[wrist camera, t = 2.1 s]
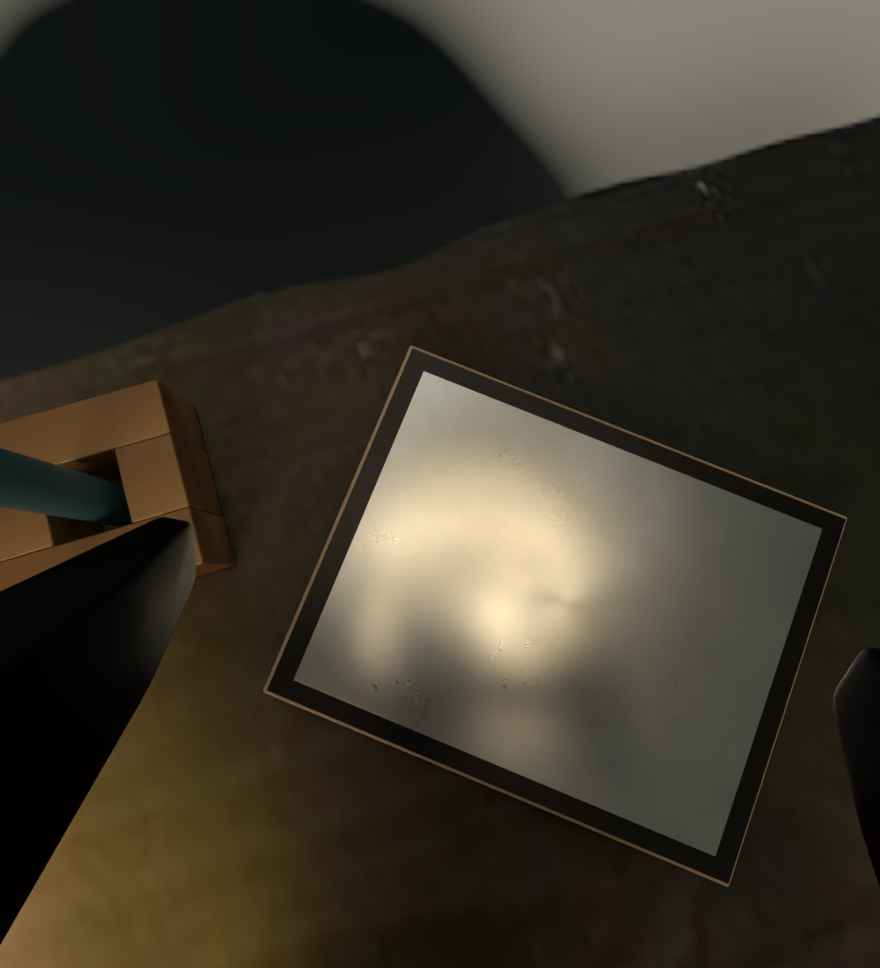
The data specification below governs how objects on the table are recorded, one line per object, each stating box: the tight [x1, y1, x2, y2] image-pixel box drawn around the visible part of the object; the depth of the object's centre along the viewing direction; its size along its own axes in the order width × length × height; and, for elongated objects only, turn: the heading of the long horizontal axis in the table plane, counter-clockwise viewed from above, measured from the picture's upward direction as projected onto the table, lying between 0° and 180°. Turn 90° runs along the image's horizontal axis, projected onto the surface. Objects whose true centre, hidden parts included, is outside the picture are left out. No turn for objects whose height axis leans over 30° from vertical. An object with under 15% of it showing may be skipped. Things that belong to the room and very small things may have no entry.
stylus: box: [0, 448, 132, 526], centre depth 17 cm, size 1×1×14 cm
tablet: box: [263, 346, 847, 887], centre depth 24 cm, size 13×16×1 cm
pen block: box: [0, 380, 235, 591], centre depth 23 cm, size 6×10×4 cm, turn 107°
